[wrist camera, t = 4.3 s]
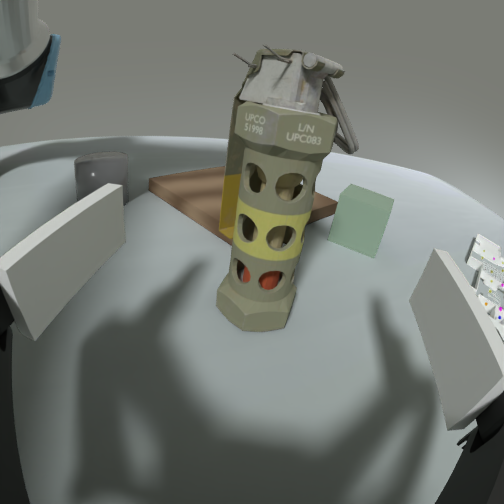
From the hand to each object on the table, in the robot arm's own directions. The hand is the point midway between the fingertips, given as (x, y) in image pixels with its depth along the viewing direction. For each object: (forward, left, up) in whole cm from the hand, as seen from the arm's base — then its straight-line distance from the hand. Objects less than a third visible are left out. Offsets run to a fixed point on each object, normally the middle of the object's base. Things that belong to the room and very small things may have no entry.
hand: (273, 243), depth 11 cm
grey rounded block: (-25, +1, -7) cm, 26 cm away
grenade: (-4, +4, -8) cm, 9 cm away
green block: (-4, +19, -7) cm, 21 cm away
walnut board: (-17, +15, -7) cm, 24 cm away
